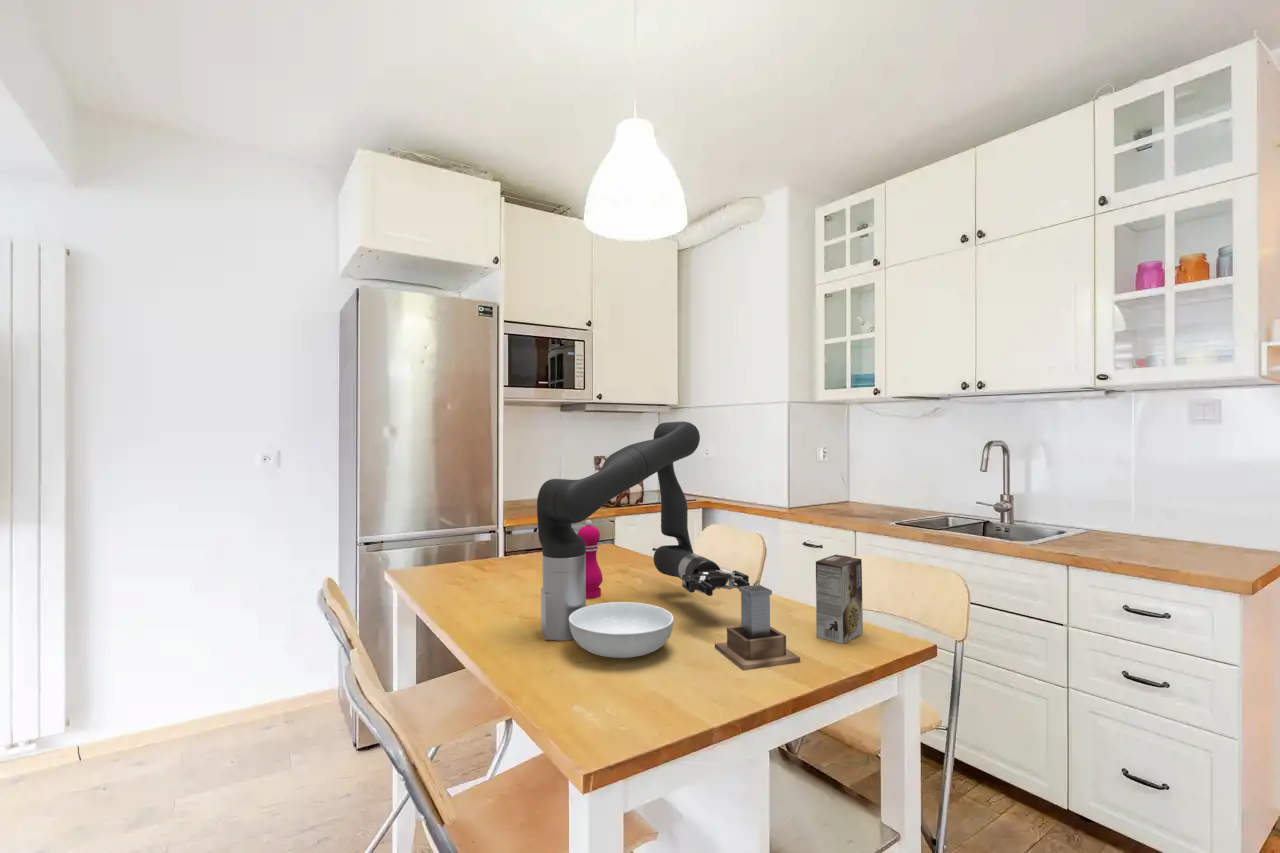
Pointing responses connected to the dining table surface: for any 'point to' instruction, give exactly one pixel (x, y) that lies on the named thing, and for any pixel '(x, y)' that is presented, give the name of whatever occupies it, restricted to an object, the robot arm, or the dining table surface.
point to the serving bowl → (621, 628)
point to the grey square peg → (755, 611)
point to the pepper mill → (591, 559)
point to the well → (756, 649)
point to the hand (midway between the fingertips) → (729, 589)
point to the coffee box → (839, 598)
